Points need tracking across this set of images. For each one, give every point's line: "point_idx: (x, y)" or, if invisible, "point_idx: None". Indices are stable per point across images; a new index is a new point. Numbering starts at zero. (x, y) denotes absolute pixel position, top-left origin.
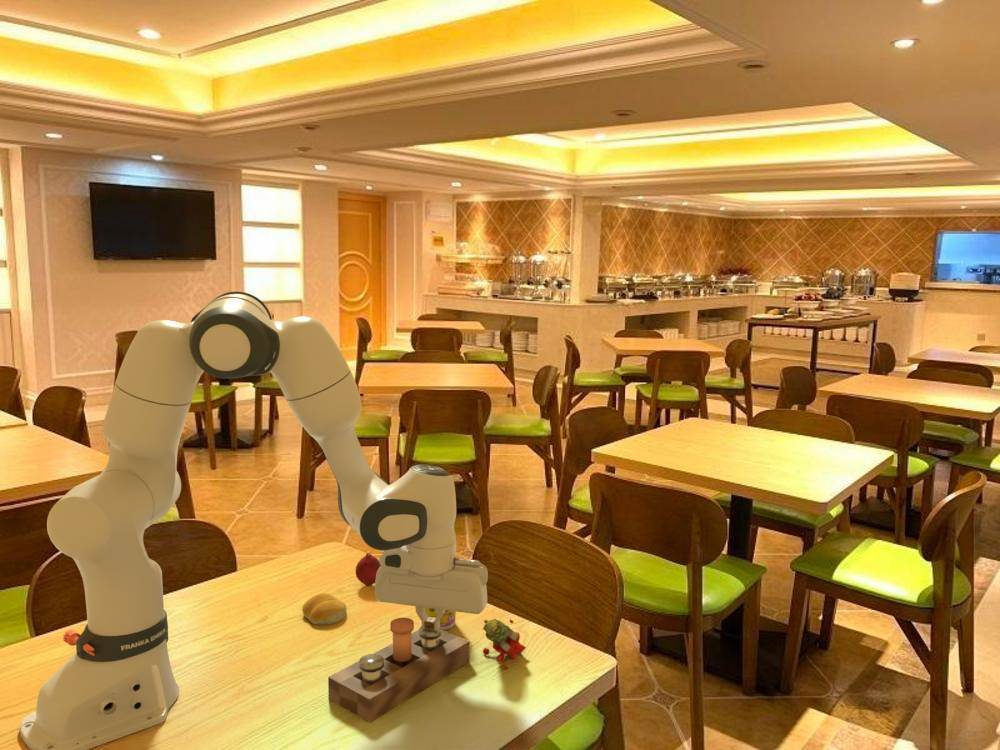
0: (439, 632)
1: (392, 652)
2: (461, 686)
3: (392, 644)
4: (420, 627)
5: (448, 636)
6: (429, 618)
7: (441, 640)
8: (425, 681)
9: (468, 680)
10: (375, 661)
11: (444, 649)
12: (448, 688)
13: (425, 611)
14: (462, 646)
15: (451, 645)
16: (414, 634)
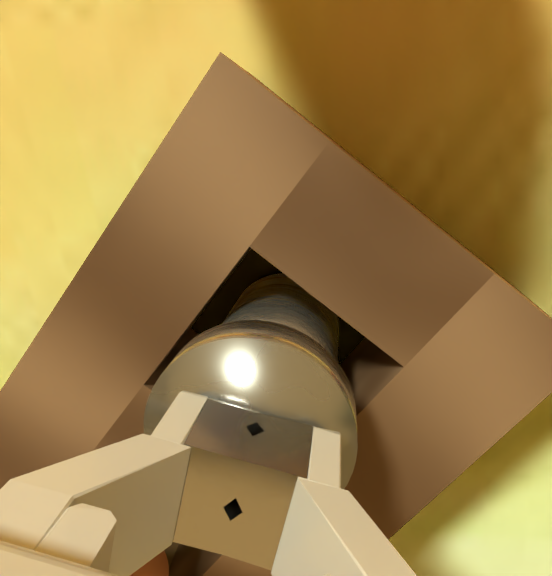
0: (341, 486)
1: None
2: (469, 526)
3: (10, 392)
4: (151, 412)
5: (410, 276)
6: (213, 487)
7: (352, 326)
8: None
9: (510, 479)
10: None
11: (383, 463)
12: (401, 538)
13: (132, 480)
14: (524, 410)
15: (436, 413)
16: (127, 250)
